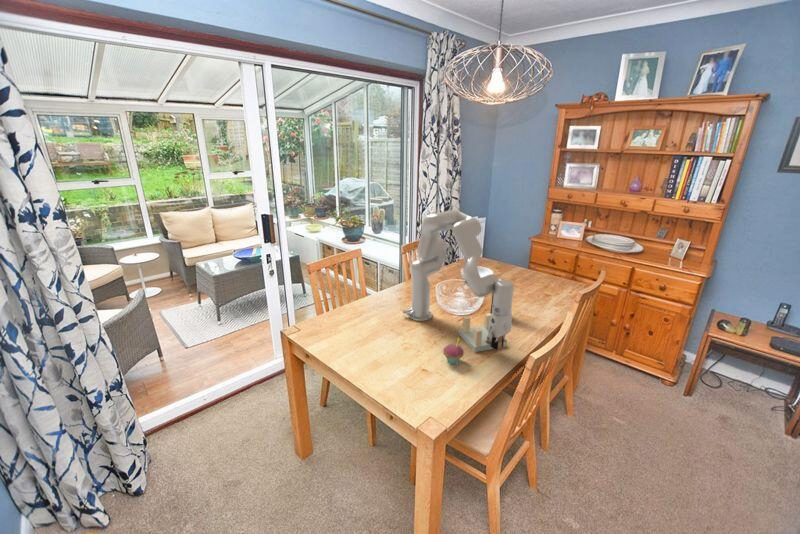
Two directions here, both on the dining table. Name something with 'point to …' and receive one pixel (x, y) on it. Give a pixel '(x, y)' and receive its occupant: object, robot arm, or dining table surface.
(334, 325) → the dining table surface
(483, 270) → the serving bowl
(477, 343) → the stool seat
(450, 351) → the cupcake
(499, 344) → the folding leg
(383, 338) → the dining table surface
